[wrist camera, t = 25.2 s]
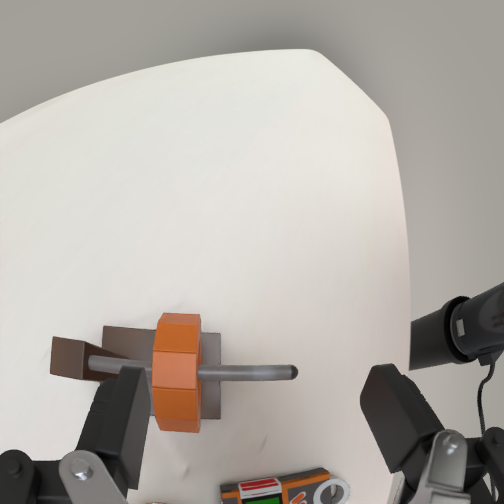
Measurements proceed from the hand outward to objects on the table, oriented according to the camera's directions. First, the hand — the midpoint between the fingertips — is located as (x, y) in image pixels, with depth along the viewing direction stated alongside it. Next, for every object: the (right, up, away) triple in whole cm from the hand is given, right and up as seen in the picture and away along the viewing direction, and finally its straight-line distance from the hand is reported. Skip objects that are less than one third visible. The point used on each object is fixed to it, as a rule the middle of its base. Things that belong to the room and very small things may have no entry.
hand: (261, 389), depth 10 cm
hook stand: (-8, -9, +23) cm, 26 cm away
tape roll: (-7, -7, +18) cm, 20 cm away
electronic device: (+3, -24, +18) cm, 30 cm away
